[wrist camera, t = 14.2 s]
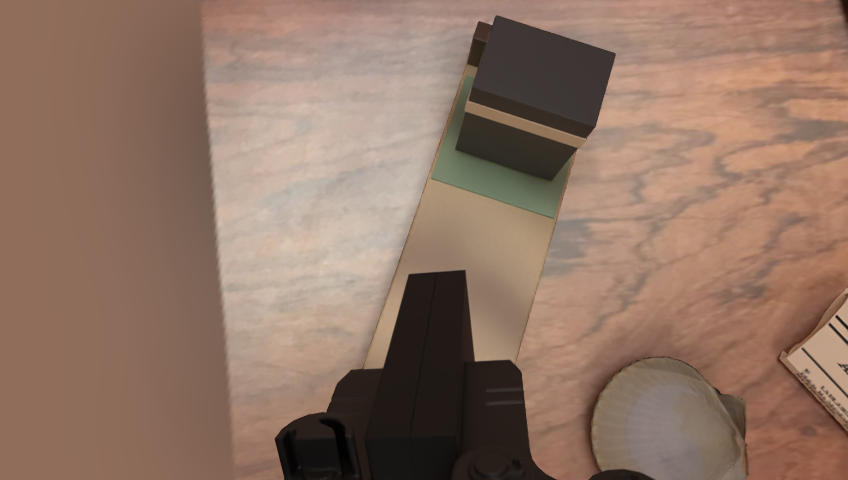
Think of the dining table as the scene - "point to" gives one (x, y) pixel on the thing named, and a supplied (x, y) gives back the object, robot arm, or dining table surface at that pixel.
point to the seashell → (669, 424)
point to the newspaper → (825, 360)
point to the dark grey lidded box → (533, 98)
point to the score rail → (478, 235)
